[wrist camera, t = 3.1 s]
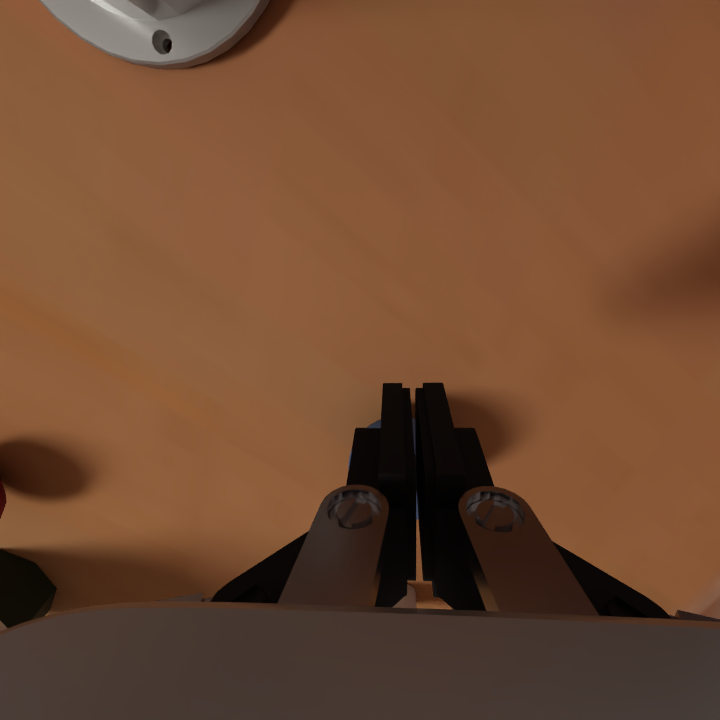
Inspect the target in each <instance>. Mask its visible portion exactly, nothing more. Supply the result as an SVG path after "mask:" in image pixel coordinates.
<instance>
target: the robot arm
mask: <svg viewBox="0 0 720 720" xmlns="http://www.w3.org/2000/svg"><path fill="white" fill-rule="evenodd" d="M39 1H40V2H41V3H42V4H43V5H44V6H45V7H46V8H47V10H48V11H49V12H50V13H51V14H52V15H53V16H54V17H55V18H56V19H57V20H58V21H59V22H61V23H62V24H63V25H64V26H66V27H67V28H68V29H69V30H71V31H72V32H73V33H74V34H76V35H77V36H78V37H79V38H81V39H82V40H84V41H85V42H87V43H89V44H91V45H93V46H94V47H96V48H98V49H100V50H102V51H103V52H105V53H107V54H109V55H111V56H114V57H116V58H119V59H121V60H124V61H126V62H129V63H131V64H135V65H140V66H145V67H149V68H154V69H183V68H187V67H191V66H194V65H198V64H202V63H205V62H208V61H210V60H211V59H213V58H215V57H217V56H219V55H220V54H222V53H224V52H226V51H228V50H229V49H230V48H231V47H232V46H234V45H235V44H236V43H237V42H238V41H239V40H240V39H241V38H242V37H243V36H245V35H246V34H247V33H248V32H249V31H250V29H251V28H252V27H253V25H254V24H255V22H256V21H257V20H258V18H259V17H260V16H261V14H262V13H263V11H264V10H265V9H266V7H267V5H268V3H269V1H270V0H39ZM169 42H172V49H171V50H170V52H168V50H167V45H168V44H169ZM416 492H417V505H418V518H419V532H420V545H421V559H422V572H423V581H432V586H433V596H434V597H440V598H441V599H442V600H444V601H445V602H446V603H447V604H448V605H449V606H450V607H452V610H447V609H421V608H394V607H393V606H394V605H396V604H397V603H398V602H399V601H400V600H401V599H402V598H403V597H404V596H407V580H413V581H416ZM0 720H720V619H715V618H711V617H706V616H702V615H698V614H694V613H689V612H685V611H680V610H677V612H676V614H675V616H671V615H668V614H667V613H666V612H665V611H664V610H663V609H662V608H661V607H660V606H658V605H657V604H656V603H654V602H653V601H651V600H650V599H649V598H647V597H646V596H644V595H642V594H641V593H639V592H637V591H635V590H634V589H632V588H630V587H629V586H627V585H625V584H624V583H622V582H620V581H619V580H617V579H615V578H613V577H612V576H610V575H608V574H607V573H605V572H603V571H602V570H600V569H598V568H597V567H595V566H593V565H592V564H590V563H588V562H586V561H585V560H583V559H581V558H580V557H578V556H576V555H575V554H573V553H571V552H570V551H568V550H566V549H565V548H563V547H561V546H559V545H558V544H556V543H554V542H553V541H552V540H551V539H550V537H549V536H548V534H547V532H546V531H545V529H544V528H543V526H542V525H541V523H540V521H539V520H538V518H537V517H536V515H535V514H534V512H533V510H532V509H531V507H530V506H529V505H528V504H527V503H526V501H525V500H524V499H522V498H521V497H520V496H518V495H517V494H515V493H513V492H511V491H509V490H506V489H503V488H499V487H494V484H493V481H492V478H491V475H490V472H489V469H488V466H487V463H486V460H485V457H484V454H483V451H482V448H481V445H480V442H479V439H478V436H477V433H476V431H475V429H474V428H454V426H453V422H452V417H451V413H450V409H449V405H448V401H447V397H446V393H445V389H444V385H443V383H423V388H416V391H415V449H414V436H413V424H412V411H411V399H410V388H402V383H383V393H382V412H381V428H356V429H355V434H354V440H353V446H352V453H351V459H350V466H349V472H348V478H347V485H346V486H343V487H340V488H338V489H336V490H334V491H332V492H331V493H330V494H328V495H327V496H326V497H325V498H324V500H323V501H322V503H321V505H320V507H319V509H318V512H317V514H316V516H315V518H314V521H313V523H312V525H311V528H310V530H309V531H308V532H306V533H305V534H303V535H302V536H300V537H299V538H297V539H296V540H294V541H292V542H291V543H289V544H288V545H286V546H285V547H283V548H282V549H280V550H278V551H277V552H275V553H274V554H272V555H271V556H269V557H268V558H266V559H265V560H263V561H261V562H260V563H258V564H257V565H255V566H254V567H252V568H251V569H249V570H247V571H246V572H244V573H243V574H241V575H240V576H238V577H237V578H235V579H233V580H232V581H230V582H229V583H227V584H226V585H225V586H224V587H223V588H221V589H220V590H219V591H218V592H217V593H216V594H215V595H214V597H210V598H204V595H203V593H197V594H192V595H186V596H181V597H175V598H170V599H164V600H158V601H153V602H122V603H112V604H102V605H93V606H88V607H82V608H77V609H72V610H67V611H61V612H57V613H53V614H50V615H47V616H43V617H40V618H37V619H34V620H30V621H27V622H24V623H21V624H18V625H15V626H13V627H10V628H8V629H5V630H3V631H1V632H0Z"/></svg>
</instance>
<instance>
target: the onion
mask: <svg viewBox="0 0 720 720" xmlns="http://www.w3.org/2000/svg"><path fill="white" fill-rule="evenodd" d="M5 504H6V493H5V490H4V487H3V484H2V482H1V479H0V518H1V515H2V513H3V510H4V507H5Z"/></svg>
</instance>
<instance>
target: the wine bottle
mask: <svg viewBox="0 0 720 720" xmlns="http://www.w3.org/2000/svg"><path fill="white" fill-rule="evenodd" d="M56 589H57V588H56V587H55V586H54V585H53V584H52V583H51V581H50V580H49V579H48V578H47V577H46V575H45V574H44V573H43V572H42V571H41V569H40V568H39V567H38V566H37V565H36V564H35V563H33V562H31V561H28V560H26V559H23V558H21V557H18V556H15V555H13V554H10V553H8V552H5V551H2V550H0V632H1V631H3V630H5V629H8V628H10V627H13V626H15V625H18V624H21V623H24V622H27V621H30V620H34V619H37V618H40V617H43V616H45V615H46V613H47V612H48V611H49V610H50V608H51V605H52V601H53V598H54V595H55V592H56Z"/></svg>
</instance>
